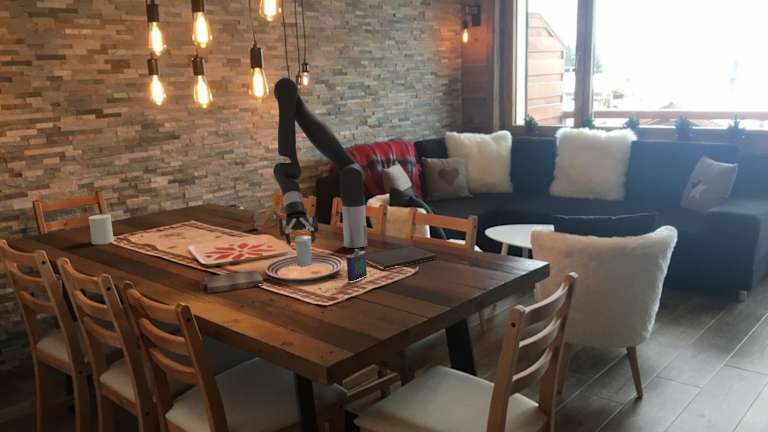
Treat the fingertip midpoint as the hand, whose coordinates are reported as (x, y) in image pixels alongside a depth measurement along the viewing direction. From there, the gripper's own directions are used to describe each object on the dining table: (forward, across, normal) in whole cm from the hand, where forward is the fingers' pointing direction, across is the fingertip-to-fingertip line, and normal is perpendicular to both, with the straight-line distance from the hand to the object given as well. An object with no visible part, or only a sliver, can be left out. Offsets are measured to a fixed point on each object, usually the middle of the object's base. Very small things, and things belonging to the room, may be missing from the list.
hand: (301, 242), depth 235 cm
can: (-47, -76, +60) cm, 108 cm away
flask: (+22, +15, -9) cm, 28 cm away
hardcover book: (+11, +35, +4) cm, 37 cm away
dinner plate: (+12, 0, +2) cm, 12 cm away
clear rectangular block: (-45, -6, +58) cm, 74 cm away
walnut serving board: (+14, -27, -1) cm, 30 cm away
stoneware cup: (+9, 0, 0) cm, 9 cm away
